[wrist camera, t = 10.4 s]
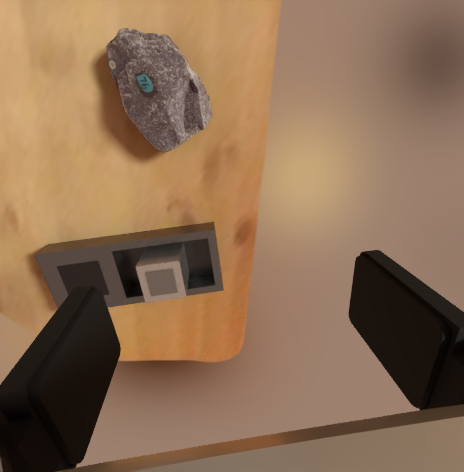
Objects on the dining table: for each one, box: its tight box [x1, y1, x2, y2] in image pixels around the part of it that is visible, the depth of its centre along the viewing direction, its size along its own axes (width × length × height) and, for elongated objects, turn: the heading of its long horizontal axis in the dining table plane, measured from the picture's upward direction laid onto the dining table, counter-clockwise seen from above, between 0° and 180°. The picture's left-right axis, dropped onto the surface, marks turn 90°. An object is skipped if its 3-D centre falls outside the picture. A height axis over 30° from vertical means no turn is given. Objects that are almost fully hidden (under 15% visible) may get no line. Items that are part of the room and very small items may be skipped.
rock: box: [106, 28, 212, 152], centre depth 28 cm, size 8×11×5 cm
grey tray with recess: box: [34, 222, 223, 308], centre depth 35 cm, size 9×22×3 cm, turn 97°
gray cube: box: [136, 242, 189, 303], centre depth 34 cm, size 5×5×6 cm
